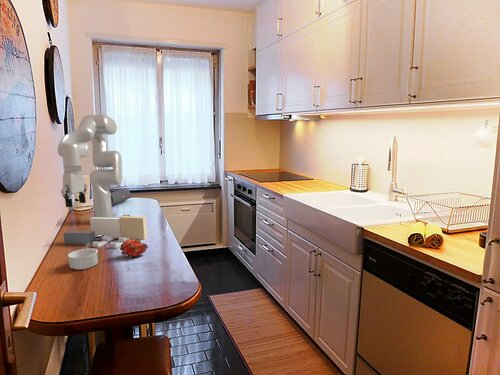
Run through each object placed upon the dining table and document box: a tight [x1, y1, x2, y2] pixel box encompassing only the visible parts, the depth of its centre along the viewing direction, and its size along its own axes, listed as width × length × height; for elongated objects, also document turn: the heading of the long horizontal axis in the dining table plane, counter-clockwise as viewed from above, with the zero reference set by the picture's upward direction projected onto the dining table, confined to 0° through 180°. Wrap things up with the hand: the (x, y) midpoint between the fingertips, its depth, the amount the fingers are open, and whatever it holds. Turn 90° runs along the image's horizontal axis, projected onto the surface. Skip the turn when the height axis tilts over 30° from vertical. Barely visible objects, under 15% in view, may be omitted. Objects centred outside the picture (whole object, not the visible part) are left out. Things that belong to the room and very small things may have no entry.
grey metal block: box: [62, 230, 97, 246], centre depth 182 cm, size 4×14×6 cm, turn 82°
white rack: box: [89, 215, 148, 249], centre depth 182 cm, size 18×30×11 cm, turn 78°
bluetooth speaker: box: [110, 188, 132, 207], centre depth 272 cm, size 23×9×10 cm, turn 167°
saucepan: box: [66, 243, 99, 271], centre depth 156 cm, size 12×20×6 cm, turn 15°
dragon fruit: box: [119, 239, 149, 259], centre depth 162 cm, size 8×8×12 cm
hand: (76, 204), depth 179 cm, fingers open, 9 cm apart
